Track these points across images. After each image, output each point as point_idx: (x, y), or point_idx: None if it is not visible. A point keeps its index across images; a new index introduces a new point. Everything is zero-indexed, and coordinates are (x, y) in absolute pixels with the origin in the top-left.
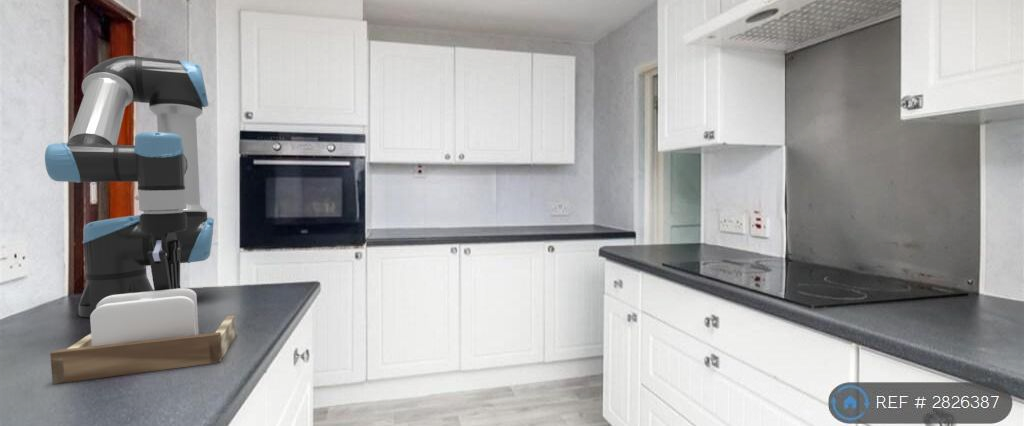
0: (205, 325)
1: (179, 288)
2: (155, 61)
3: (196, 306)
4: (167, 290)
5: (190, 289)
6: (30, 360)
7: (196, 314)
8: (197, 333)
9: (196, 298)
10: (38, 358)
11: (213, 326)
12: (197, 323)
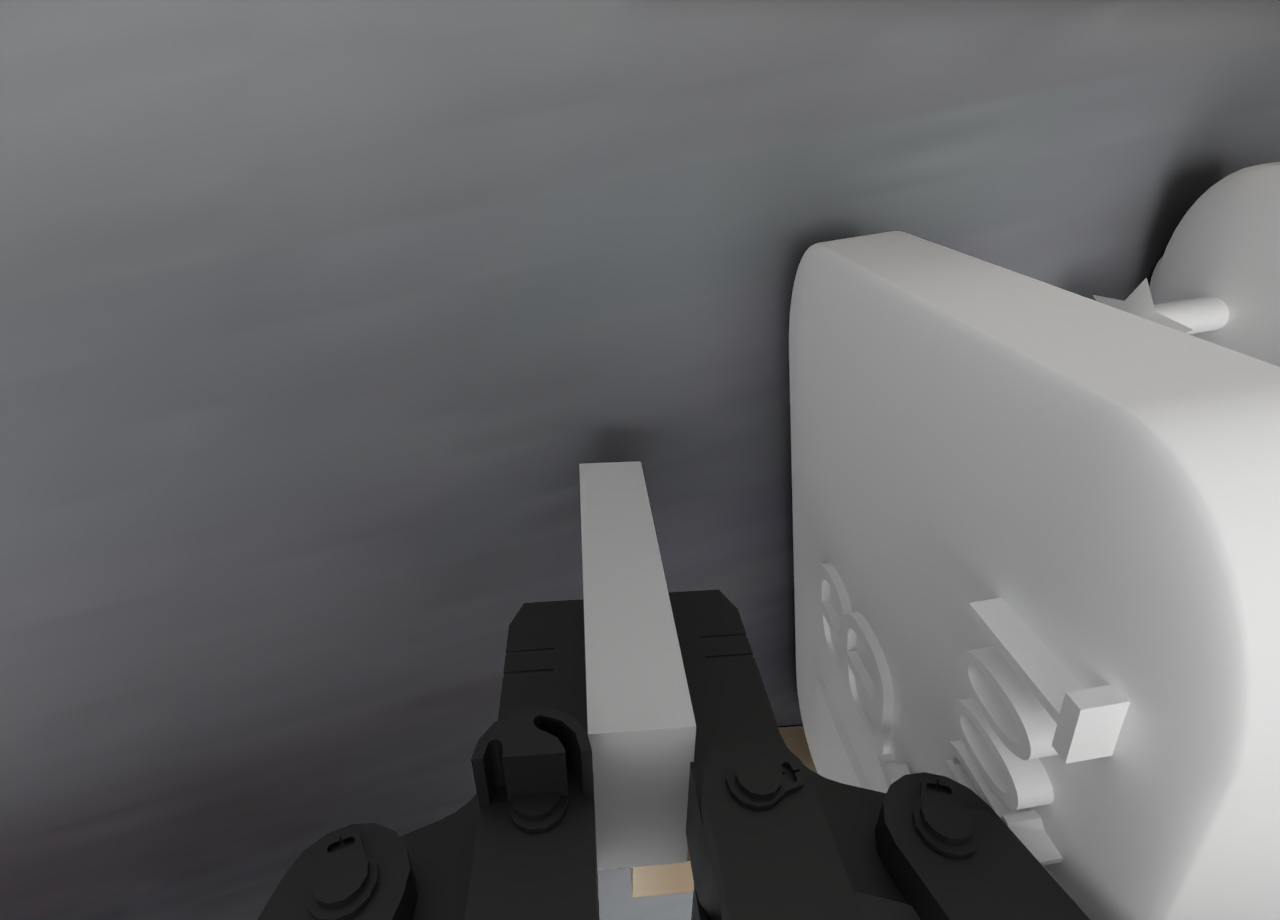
0: (133, 305)
1: (1245, 809)
2: None
3: (1127, 315)
4: (1268, 915)
5: (1271, 599)
6: (668, 912)
7: (1042, 285)
8: (912, 235)
9: (1144, 374)
10: (651, 903)
11: (185, 210)
12: (947, 255)
